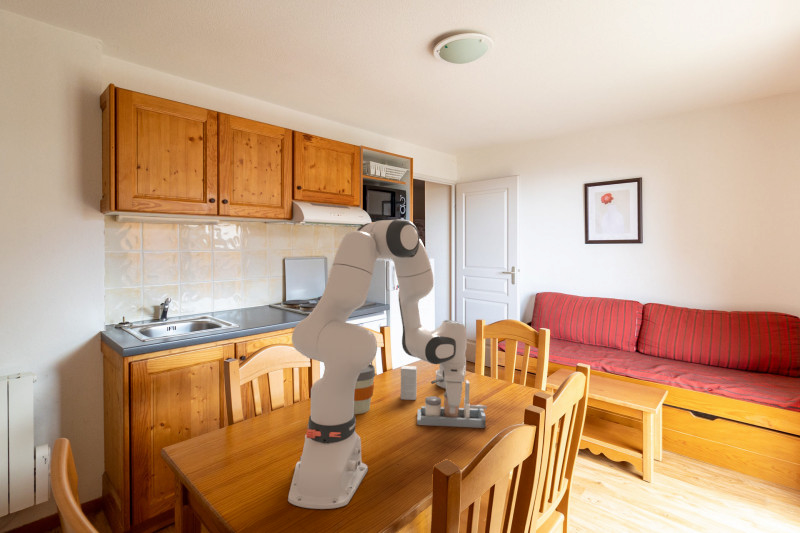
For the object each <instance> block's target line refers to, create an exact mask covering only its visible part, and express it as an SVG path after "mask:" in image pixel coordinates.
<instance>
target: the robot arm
mask: <svg viewBox="0 0 800 533" xmlns="http://www.w3.org/2000/svg"><path fill="white" fill-rule="evenodd" d="M333 258H334V259H333V262H332V265H331V268H330V272H329V276H328V278H327V282H326V285H325V288H324V290H323V294H322V295H321V297H320V299H319V300H318V302H317V304H316V305H315V307H314V308H313V309H312V311H311V312H310V313H309V314H308V315H307V316H306V317H305V318H304V319H301V320H300V321H299V322H298V323H297V324H296V325H295V326H294V328H293V332H292V334H291V341H292V343H291V344H292V346H293V348H294V349H295V350H296V351H297V352H298V353H300V354H301V355H302V356H304V357H306V358H308V359H311V360H314V361H317V362H320V363H321V362H322V363H323V364H324V370H323V374H322V377H321V378H319V379H317V380H316V381H315V382H314V383H313V384H312V385H311V388H310V415H309V416H308V423H307V429H306V434H305V435H304V445H303V449H302V453H301V454H302V455H300V457H299V461H297V462H296V464H295V468H294V471H293V472H294V473H293V476H292V481H291V483H290V487H289V488H290V489H289V492H288V498H287V501H288V502H289V503H290V504H292V505H293V506H297V507H301V508H305V509H313V510H314V509H316V510H319V509H320V510H325V509H327V510H328V509H331V510H332V509H336V508H337V509H338V508H341V507H344V506H347V505H348V504H349V502H350V500H351V499H352V498H353V496H354V494H355V493H356V492H357V489H358V488H359V486H360V485H361V483H362V481H363V479H364V478H365V476H366V475H367V472H368V471H369V469H368V467H369V466H368V465H367V464H366V463H364V462H362V438H361V437H360V435H359V434H358V433H357V432H356V422H357V421H356V420H357V419H356V414H354V393H355V385H356V382H357V379H358V377H359V375H360V373H361V372H362V370H364V369H365V368H366V367H368V366H369V365H370V364H371V365H372V363H373V361H374V359H375V358H376V355H377V353H378V352H377V351H378V343H377V338H376V335H375V334H374V333H373V332H372V331H371V330H369V329H367V328H365V327H364V326H361V325H358V324H355V323H351V322H350V323H349V322H347V320H348V319H349V317H350V316H351V315H352V313H353V312H355V311H356V310H357V309H359V308H362V306H364V304H365V303H366V300H367V297H368V294H369V290H370V286H371V283H372V282H371V281H372V277H373V276H374V270H375V264H376V261H377V259H384V260H385V259H386V260H387V259H391V260H392V262H393V264H394V270H395V273H396V278H397V284H398V303H399V304H398V306H399V311H400V319H401V325H402V336H401V345H402V346H401V347H402V349H403V351H404V352H405V353H406V354H407V355H408V356H410V357H414V358H417V359H419V360H422V361H424V362H427V363H429V364H432V365H439V368H438V370H439V373H440V374H441V375H442V376H443V378H444V381H445V386H446V389H445V392H446V393H447V399H448V405H449V412H450V413H452V414H454V413H455V407H456V406H459V407H460V405H461V400H462V394H463V393H462V392H463V383H465V377H466V374H467V373H466V372H467V370H466V369H467V358H466V351H467V343H468V342H467V341H468V340H467V338H468V337H467V328H466V326H465V325H464V324H463V323H462V322H460V321H455V320H449V319H444V320H443V321H442V323H441V325H440V326H439V327H437V328H436V329H434V330H432V331H430V330H427V329H425V328H424V326H423V325H422V324H421V318H420V310H419V301H420V300H421V299H424V298H425V297H427V296H428V295H429V294H430V293H431V291H432V290H433V288H434V274H433V270H432V266H431V261H430V258H429V255H428V253H427V249H426V247H425V246H424V243H423V240H421V238H420V233H419V230H418V228H417V227H416V225H415V224H414V223H413V222H412V221H410V220H408V219H403V218H398V219H382V220H377V221H373V222H366V223H364V224H363V225H361V226H359V227H358V228H357V229H356V230H351V231H349V232H347V233H346V234H345V235H344V236H343V238H342V240H341V242H340V243H339V246H338V249H337V251H336V252H335V256H334V257H333Z"/></svg>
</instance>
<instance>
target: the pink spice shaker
mask: <svg viewBox="0 0 800 533" xmlns="http://www.w3.org/2000/svg"><path fill="white" fill-rule="evenodd" d="M443 397H444V399H443V400H444V401H443V407H444V416H443V417H456V418H460V417H459V408H460V405H459V406H456V407H455V413H454V414H452V413H450V412H449V405H448V399H447V393H446V391H444V393H443Z"/></svg>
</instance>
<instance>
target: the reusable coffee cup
mask: <svg viewBox="0 0 800 533" xmlns="http://www.w3.org/2000/svg"><path fill="white" fill-rule="evenodd" d="M375 377H376V370H375V366H374V365H373V364H372V363H371V364H370V365H369V366H368V367H366V368H365V369H364V370H362V372H361V373H360V375H359V377H358V379H357V382H356V385H355V393H354V414H355V415H360V414H364V413H367V412H369V411H370V407H371V403H372V402H371V401H372V397H373V396H374V388H375V381H374V380H375Z"/></svg>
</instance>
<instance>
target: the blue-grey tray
mask: <svg viewBox="0 0 800 533" xmlns="http://www.w3.org/2000/svg"><path fill="white" fill-rule="evenodd" d="M478 405H479V406H483V405H482V404H478ZM486 419H487V418H486V413H485V409H476V408H470V414H469V418H464V407H459V418H456V417H444V406H441V415H440V417H435V416H425V405H424V406H420V408H417V418H416V425H417V426H437V427H457V428H481V429H482V428H483V429H486V423H487V422H486Z"/></svg>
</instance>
